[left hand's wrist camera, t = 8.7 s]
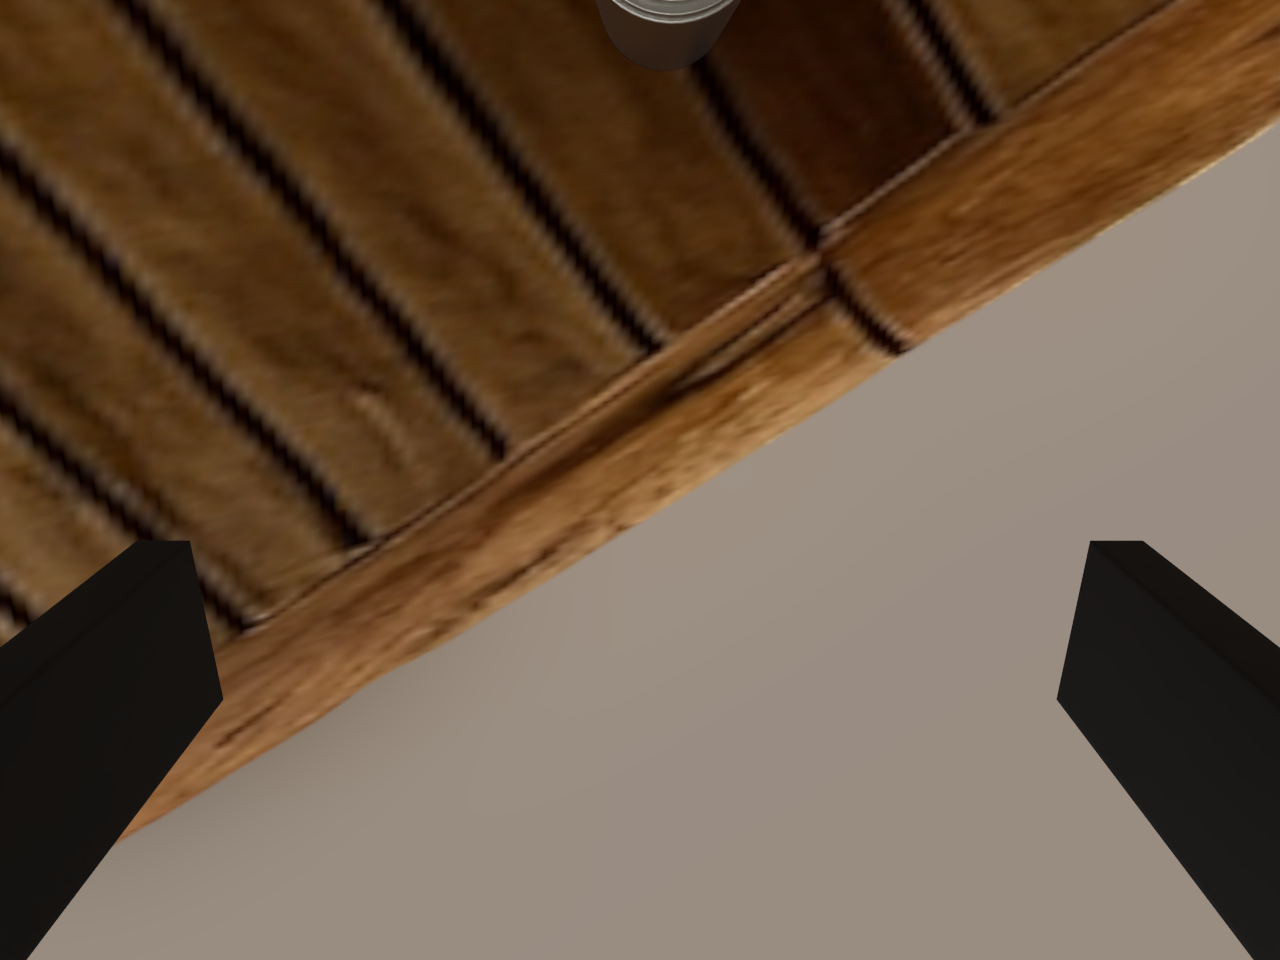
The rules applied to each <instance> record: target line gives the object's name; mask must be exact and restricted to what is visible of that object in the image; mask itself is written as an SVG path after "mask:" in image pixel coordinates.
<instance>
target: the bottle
mask: <svg viewBox="0 0 1280 960" xmlns="http://www.w3.org/2000/svg"><path fill="white" fill-rule="evenodd" d="M740 1H741V0H596V3H597V6H598V9H599V12H600V15H601V18H602V21H603V24H604V27H605V29H606V31H607V34H608V35H609V37H610V39H611V41H612V42H613V44H614V45H615V46H616V48H617V49H618V50H619V51H620V52H621V53H622V54H623V55H624V56H625V57H627V58H628V59H629V60H630V61H632V62H634V63H635V64H637V65H639V66H642V67H644V68H647V69H651V70H658V71H671V70H676V69H680V68H683V67H686V66H688V65H690V64H692V63H694V62H695V61H697V60H698V59H700V58H701V57H702V56H703V55H705V54H706V53H707V52H708V51H709V50H710V48H711V47H712V46H713V45H714V44H715V42H716V41H717V39H718V38H719V36H720V34H721V33H722V31H723V29H724V28H725V26H726V24H727V23H728V21H729V19H730V18H731V16H732V14H733V13H734V11H735V9H736V8H737V6H738V4H739V3H740Z"/></svg>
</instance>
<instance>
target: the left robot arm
mask: <svg viewBox="0 0 1280 960" xmlns="http://www.w3.org/2000/svg"><path fill="white" fill-rule="evenodd" d="M222 700H223V695H222V691H221V686H220V681H219V677H218V672H217V667H216V662H215V658H214V653H213V648H212V644H211V639H210V634H209V629H208V625H207V620H206V615H205V611H204V606H203V601H202V596H201V592H200V587H199V582H198V578H197V573H196V568H195V563H194V559H193V554H192V549H191V544H190V541H136V542H135V543H134V544H132V545H131V546H130V547H129V548H127V549H126V550H125V551H123V552H122V553H121V554H120V555H118V556H117V557H116V558H114V559H113V560H112V561H111V562H109V563H108V564H107V565H106V566H104V567H103V568H102V569H100V570H99V571H98V572H97V573H95V574H94V575H93V576H91V577H90V578H89V579H88V580H86V581H85V582H84V583H82V584H81V585H80V586H79V587H77V588H76V589H75V590H73V591H72V592H71V593H70V594H68V595H67V596H66V597H65V598H63V599H62V600H61V601H59V602H58V603H57V604H56V605H54V606H53V607H52V608H50V609H49V610H48V611H47V612H45V613H44V614H43V615H41V616H40V617H39V618H38V619H36V620H35V621H34V622H32V623H31V624H30V625H29V626H27V627H26V628H25V629H24V630H22V631H21V632H20V633H18V634H17V635H16V636H15V637H13V638H12V639H11V640H9V641H8V642H7V643H6V644H4V645H3V646H2V647H0V960H27V958H28V957H29V956H30V954H31V953H32V952H33V950H34V949H35V948H36V946H37V945H38V944H39V942H40V941H41V940H42V938H43V937H44V936H45V935H46V933H47V932H48V931H49V929H50V928H51V927H52V925H53V924H54V923H55V921H56V920H57V919H58V917H59V916H60V915H61V913H62V912H63V911H64V909H65V908H66V907H67V905H68V904H69V903H70V901H71V900H72V899H73V898H74V896H75V895H76V894H77V892H78V891H79V890H80V888H81V887H82V886H83V884H84V883H85V882H86V880H87V879H88V878H89V876H90V875H91V874H92V872H93V871H94V870H95V868H96V867H97V866H98V864H99V863H100V862H101V860H102V859H103V858H104V856H105V855H106V854H107V853H108V851H109V850H110V849H111V847H112V846H113V845H114V843H115V842H116V841H117V839H118V838H119V837H120V835H121V834H122V833H123V831H124V830H125V829H126V827H127V826H128V825H129V823H130V822H131V821H132V819H133V818H134V817H135V816H136V814H137V813H138V812H139V810H140V809H141V808H142V806H143V805H144V804H145V802H146V801H147V800H148V798H149V797H150V796H151V794H152V793H153V792H154V790H155V789H156V788H157V786H158V785H159V784H160V782H161V781H162V780H163V778H164V777H165V776H166V775H167V773H168V772H169V771H170V769H171V768H172V767H173V765H174V764H175V763H176V761H177V760H178V759H179V757H180V756H181V755H182V753H183V752H184V751H185V749H186V748H187V747H188V745H189V744H190V743H191V741H192V740H193V739H194V737H195V736H196V735H197V734H198V732H199V731H200V730H201V728H202V727H203V726H204V724H205V723H206V722H207V720H208V719H209V718H210V716H211V715H212V714H213V712H214V711H215V710H216V708H217V707H218V706H219V704H220V703H221V702H222ZM1057 700H1058V702H1059V703H1060V704H1061V706H1062V707H1063V708H1064V710H1065V711H1066V712H1067V714H1068V715H1069V716H1070V718H1071V719H1072V720H1073V722H1074V723H1075V724H1076V726H1077V727H1078V728H1079V730H1080V731H1081V732H1082V734H1083V735H1084V736H1085V737H1086V739H1087V740H1088V741H1089V743H1090V744H1091V745H1092V747H1093V748H1094V749H1095V751H1096V752H1097V753H1098V755H1099V756H1100V757H1101V759H1102V760H1103V761H1104V763H1105V764H1106V765H1107V767H1108V768H1109V769H1110V771H1111V772H1112V773H1113V775H1114V776H1115V777H1116V778H1117V780H1118V781H1119V782H1120V784H1121V785H1122V786H1123V788H1124V789H1125V790H1126V792H1127V793H1128V794H1129V796H1130V797H1131V798H1132V800H1133V801H1134V802H1135V804H1136V805H1137V806H1138V807H1139V809H1140V810H1141V812H1142V813H1143V814H1144V815H1145V817H1146V818H1147V819H1148V821H1149V822H1150V823H1151V825H1152V826H1153V827H1154V829H1155V830H1156V831H1157V833H1158V834H1159V835H1160V837H1161V838H1162V839H1163V841H1164V842H1165V843H1166V845H1167V846H1168V847H1169V849H1170V850H1171V851H1172V853H1173V854H1174V855H1175V857H1176V858H1177V859H1178V860H1179V862H1180V863H1181V864H1182V866H1183V867H1184V868H1185V870H1186V871H1187V872H1188V874H1189V875H1190V876H1191V878H1192V879H1193V880H1194V882H1195V883H1196V884H1197V886H1198V887H1199V888H1200V889H1201V891H1202V892H1203V893H1204V895H1205V896H1206V898H1207V899H1208V900H1209V901H1210V903H1211V904H1212V905H1213V907H1214V908H1215V909H1216V911H1217V912H1218V913H1219V915H1220V916H1221V917H1222V919H1223V920H1224V921H1225V923H1226V924H1227V925H1228V927H1229V928H1230V929H1231V931H1232V932H1233V933H1234V935H1235V936H1236V937H1237V939H1238V940H1239V941H1240V942H1241V944H1242V945H1243V946H1244V948H1245V949H1246V950H1247V952H1248V953H1249V954H1250V956H1251V957H1252V958H1253V960H1280V647H1278V646H1277V645H1276V644H1274V643H1273V642H1272V641H1271V640H1269V639H1268V638H1267V637H1265V636H1264V635H1263V634H1262V633H1260V632H1259V631H1258V630H1256V629H1255V628H1254V627H1253V626H1251V625H1250V624H1249V623H1248V622H1246V621H1245V620H1244V619H1242V618H1241V617H1240V616H1239V615H1237V614H1236V613H1235V612H1233V611H1232V610H1231V609H1230V608H1228V607H1227V606H1226V605H1224V604H1223V603H1222V602H1221V601H1219V600H1218V599H1217V598H1215V597H1214V596H1213V595H1212V594H1210V593H1209V592H1208V591H1207V590H1205V589H1204V588H1203V587H1201V586H1200V585H1199V584H1198V583H1196V582H1195V581H1194V580H1192V579H1191V578H1190V577H1189V576H1187V575H1186V574H1185V573H1183V572H1182V571H1181V570H1180V569H1178V568H1177V567H1176V566H1174V565H1173V564H1172V563H1171V562H1169V561H1168V560H1167V559H1166V558H1164V557H1163V556H1162V555H1160V554H1159V553H1158V552H1157V551H1155V550H1154V549H1153V548H1151V547H1150V546H1149V545H1148V544H1146V543H1145V542H1144V541H1090V545H1089V549H1088V554H1087V559H1086V563H1085V568H1084V573H1083V578H1082V582H1081V587H1080V592H1079V597H1078V601H1077V606H1076V611H1075V615H1074V620H1073V625H1072V629H1071V634H1070V639H1069V644H1068V648H1067V653H1066V658H1065V662H1064V667H1063V672H1062V677H1061V681H1060V686H1059V691H1058V695H1057Z"/></svg>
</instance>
